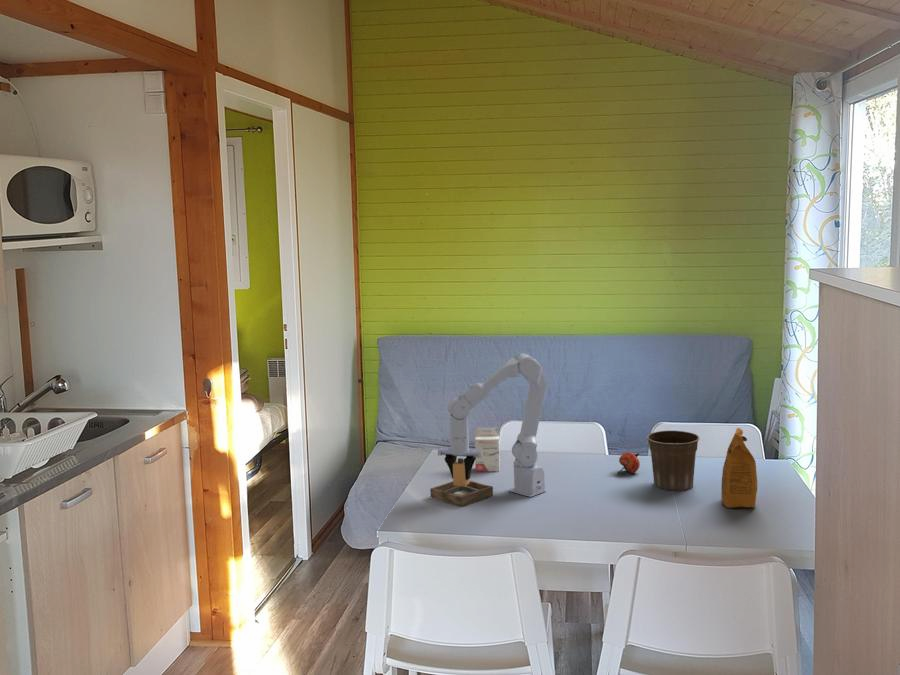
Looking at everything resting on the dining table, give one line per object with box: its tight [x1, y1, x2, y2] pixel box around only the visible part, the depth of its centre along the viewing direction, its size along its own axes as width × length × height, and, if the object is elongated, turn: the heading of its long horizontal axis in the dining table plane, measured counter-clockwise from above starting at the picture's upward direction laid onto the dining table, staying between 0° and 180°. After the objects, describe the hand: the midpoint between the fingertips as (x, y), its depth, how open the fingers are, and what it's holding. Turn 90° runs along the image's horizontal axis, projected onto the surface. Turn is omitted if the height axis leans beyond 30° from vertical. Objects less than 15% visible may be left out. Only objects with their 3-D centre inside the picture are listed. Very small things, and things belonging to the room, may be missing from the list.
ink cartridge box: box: [474, 427, 501, 472], centre depth 298 cm, size 9×5×15 cm, turn 84°
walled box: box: [429, 480, 494, 508], centre depth 270 cm, size 14×14×3 cm
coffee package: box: [720, 427, 758, 509], centre depth 252 cm, size 10×12×22 cm
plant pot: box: [646, 430, 700, 492], centre depth 272 cm, size 16×16×16 cm
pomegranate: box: [617, 452, 641, 475], centre depth 288 cm, size 7×7×10 cm
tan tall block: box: [452, 457, 471, 486], centre depth 269 cm, size 4×4×8 cm
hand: (461, 478), depth 269 cm, fingers closed on tan tall block, 4 cm apart
